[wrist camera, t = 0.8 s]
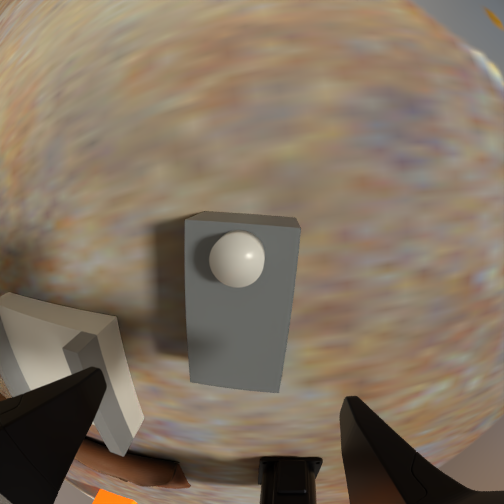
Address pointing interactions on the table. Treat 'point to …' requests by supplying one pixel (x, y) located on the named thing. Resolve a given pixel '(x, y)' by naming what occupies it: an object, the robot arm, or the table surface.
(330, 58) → the table surface
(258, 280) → the grey knobbed block
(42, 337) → the stand
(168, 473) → the sunglasses case
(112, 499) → the orange juice
